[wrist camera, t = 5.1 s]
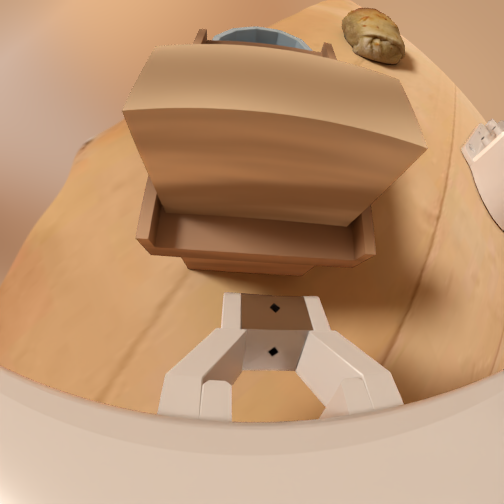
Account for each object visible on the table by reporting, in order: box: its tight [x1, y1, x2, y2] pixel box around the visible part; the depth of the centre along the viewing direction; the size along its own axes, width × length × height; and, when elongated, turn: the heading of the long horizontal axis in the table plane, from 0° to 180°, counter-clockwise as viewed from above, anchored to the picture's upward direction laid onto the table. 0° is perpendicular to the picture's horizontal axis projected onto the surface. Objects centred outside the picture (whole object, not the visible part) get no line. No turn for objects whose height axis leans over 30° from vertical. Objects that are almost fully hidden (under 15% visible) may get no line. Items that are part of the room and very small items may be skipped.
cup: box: [212, 27, 312, 51], centre depth 24 cm, size 10×10×6 cm
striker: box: [122, 44, 428, 227], centre depth 10 cm, size 4×9×7 cm, turn 88°
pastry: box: [342, 8, 405, 64], centre depth 31 cm, size 14×12×8 cm
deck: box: [136, 29, 376, 276], centre depth 19 cm, size 18×11×10 cm, turn 178°
